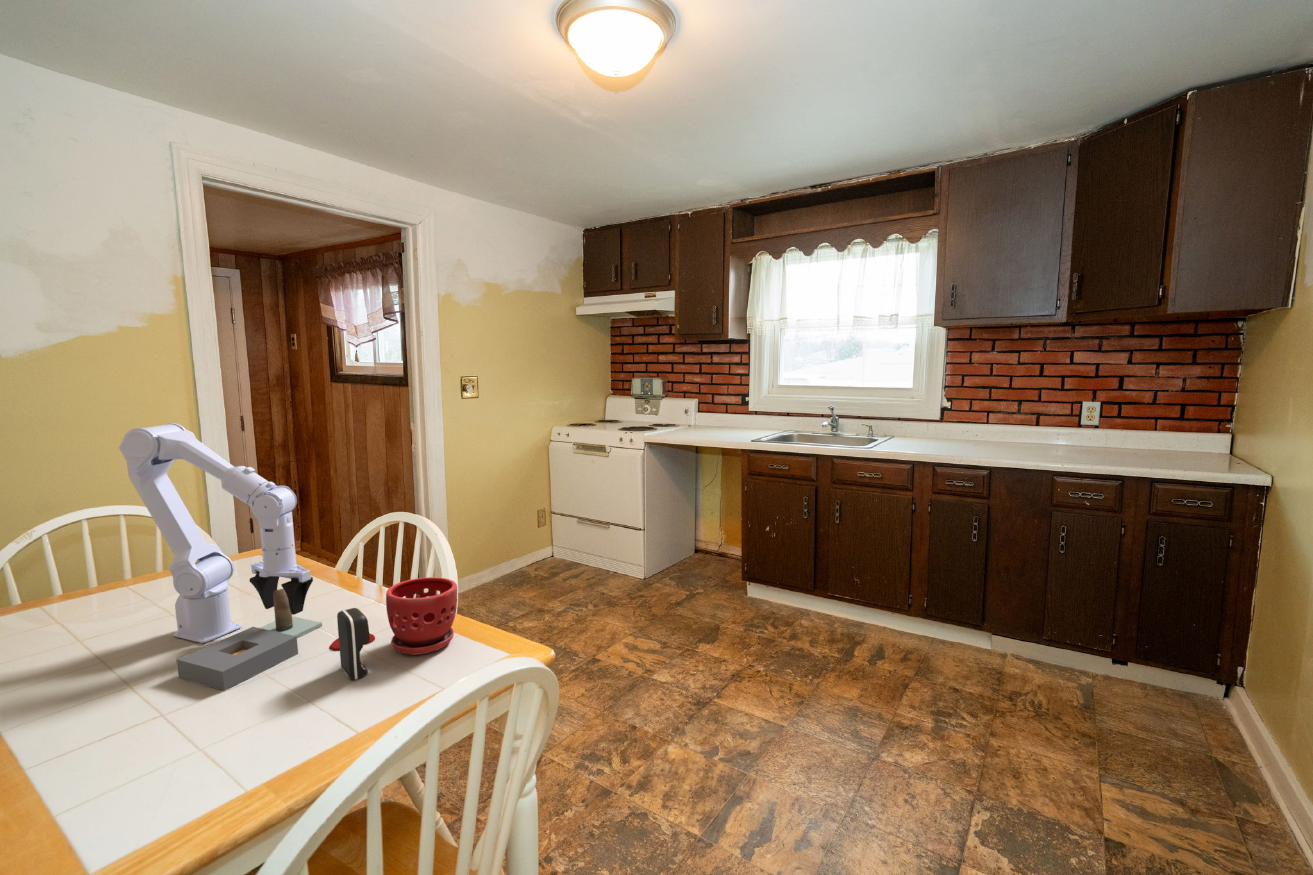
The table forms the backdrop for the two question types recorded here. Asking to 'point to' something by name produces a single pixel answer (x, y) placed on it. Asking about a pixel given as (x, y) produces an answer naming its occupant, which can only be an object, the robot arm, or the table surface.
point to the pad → (296, 627)
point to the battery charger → (352, 641)
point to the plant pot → (421, 614)
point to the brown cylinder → (282, 611)
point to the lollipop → (335, 647)
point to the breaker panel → (237, 658)
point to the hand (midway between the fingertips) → (283, 609)
